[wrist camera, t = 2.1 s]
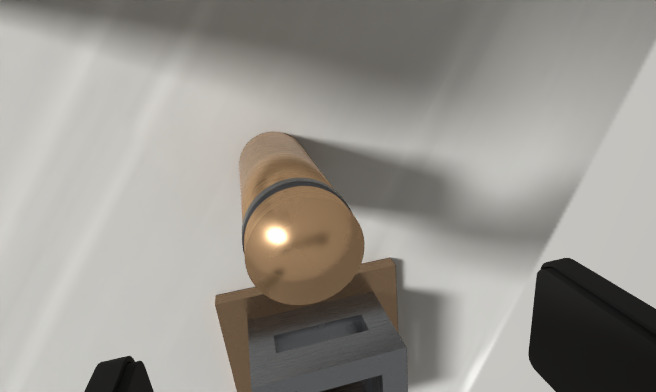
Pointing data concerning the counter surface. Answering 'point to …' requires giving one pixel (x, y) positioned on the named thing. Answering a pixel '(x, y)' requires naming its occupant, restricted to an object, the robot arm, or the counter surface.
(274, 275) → the copper tube
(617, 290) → the robot arm
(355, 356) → the collar stand
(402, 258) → the counter surface
